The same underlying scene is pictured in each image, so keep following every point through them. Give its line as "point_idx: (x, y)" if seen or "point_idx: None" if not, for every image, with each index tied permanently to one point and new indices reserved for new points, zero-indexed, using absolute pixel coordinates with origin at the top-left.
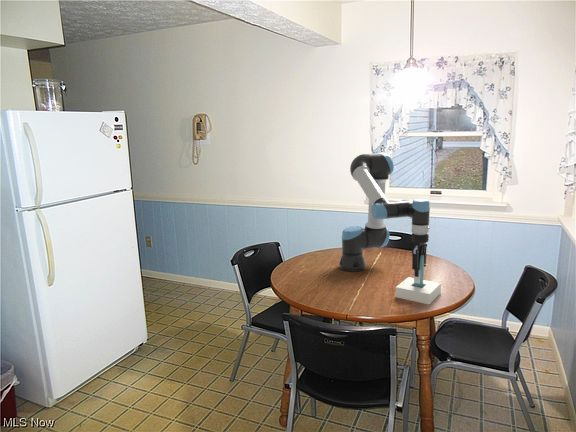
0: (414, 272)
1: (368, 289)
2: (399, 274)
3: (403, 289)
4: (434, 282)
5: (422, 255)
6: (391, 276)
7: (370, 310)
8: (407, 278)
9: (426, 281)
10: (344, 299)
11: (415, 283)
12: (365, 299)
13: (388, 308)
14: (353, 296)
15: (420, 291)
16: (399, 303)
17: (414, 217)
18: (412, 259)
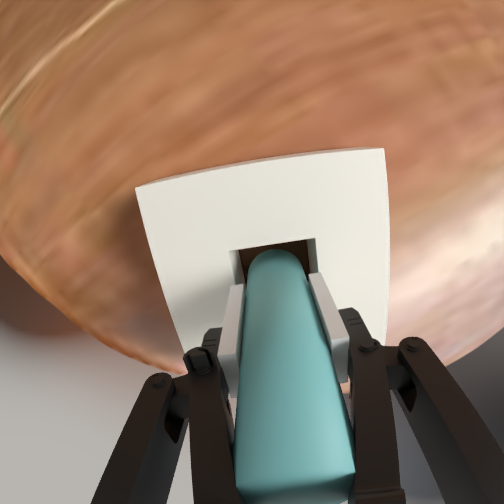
0: (223, 336)
1: (163, 9)
2: (468, 42)
3: (150, 242)
4: (377, 327)
5: (342, 497)
6: (423, 12)
7: (6, 195)
8: (352, 155)
9: (371, 287)
10: (18, 53)
11: (247, 285)
12: (54, 97)
13: (53, 234)
14: (53, 42)
15: (189, 337)
16: (117, 238)
17: None
18: (109, 465)
